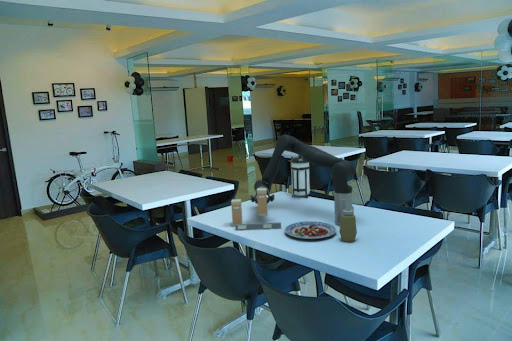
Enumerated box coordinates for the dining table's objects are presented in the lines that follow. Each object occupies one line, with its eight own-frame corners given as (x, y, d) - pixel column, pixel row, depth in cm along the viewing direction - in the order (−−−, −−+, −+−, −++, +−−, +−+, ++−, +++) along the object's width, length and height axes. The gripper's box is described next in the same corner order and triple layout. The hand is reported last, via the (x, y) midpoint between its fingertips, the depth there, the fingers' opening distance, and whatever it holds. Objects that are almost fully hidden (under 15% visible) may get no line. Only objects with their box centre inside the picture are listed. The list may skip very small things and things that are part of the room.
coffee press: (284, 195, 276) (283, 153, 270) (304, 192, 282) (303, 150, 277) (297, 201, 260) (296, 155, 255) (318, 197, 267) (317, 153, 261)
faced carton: (233, 223, 219) (232, 199, 216) (242, 223, 219) (241, 199, 216) (232, 226, 214) (231, 201, 211) (241, 226, 214) (240, 201, 211)
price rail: (281, 227, 208) (280, 222, 208) (281, 228, 207) (280, 223, 206) (235, 229, 209) (235, 224, 209) (235, 230, 208) (235, 225, 207)
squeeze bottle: (344, 235, 192) (344, 199, 189) (359, 238, 187) (359, 202, 184) (336, 240, 186) (335, 203, 183) (352, 244, 181) (352, 206, 178)
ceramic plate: (320, 222, 215) (320, 217, 215) (346, 236, 191) (346, 231, 191) (276, 229, 206) (276, 224, 206) (298, 246, 183) (298, 239, 182)
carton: (258, 213, 216) (257, 188, 214) (267, 212, 216) (266, 187, 214) (258, 216, 211) (256, 190, 209) (267, 215, 211) (266, 190, 208)
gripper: (249, 188, 226) (248, 195, 209) (274, 187, 226) (275, 194, 209) (250, 200, 227) (249, 209, 211) (275, 199, 227) (275, 208, 210)
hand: (262, 201), depth 210 cm, fingers closed on carton, 5 cm apart
